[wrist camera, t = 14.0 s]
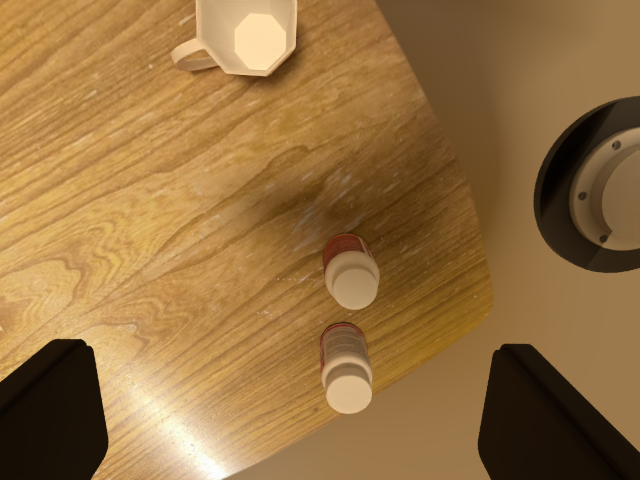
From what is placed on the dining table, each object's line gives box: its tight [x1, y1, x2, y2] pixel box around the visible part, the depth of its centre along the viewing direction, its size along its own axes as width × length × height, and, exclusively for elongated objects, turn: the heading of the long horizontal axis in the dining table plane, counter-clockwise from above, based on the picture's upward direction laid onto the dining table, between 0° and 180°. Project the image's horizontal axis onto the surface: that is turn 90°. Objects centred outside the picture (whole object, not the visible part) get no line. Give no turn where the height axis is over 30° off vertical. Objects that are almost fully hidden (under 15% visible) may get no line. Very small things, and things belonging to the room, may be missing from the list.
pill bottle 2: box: [320, 323, 372, 414], centre depth 37 cm, size 5×5×8 cm
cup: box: [170, 0, 297, 76], centre depth 29 cm, size 7×10×8 cm
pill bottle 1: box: [323, 234, 380, 310], centre depth 34 cm, size 5×5×8 cm
